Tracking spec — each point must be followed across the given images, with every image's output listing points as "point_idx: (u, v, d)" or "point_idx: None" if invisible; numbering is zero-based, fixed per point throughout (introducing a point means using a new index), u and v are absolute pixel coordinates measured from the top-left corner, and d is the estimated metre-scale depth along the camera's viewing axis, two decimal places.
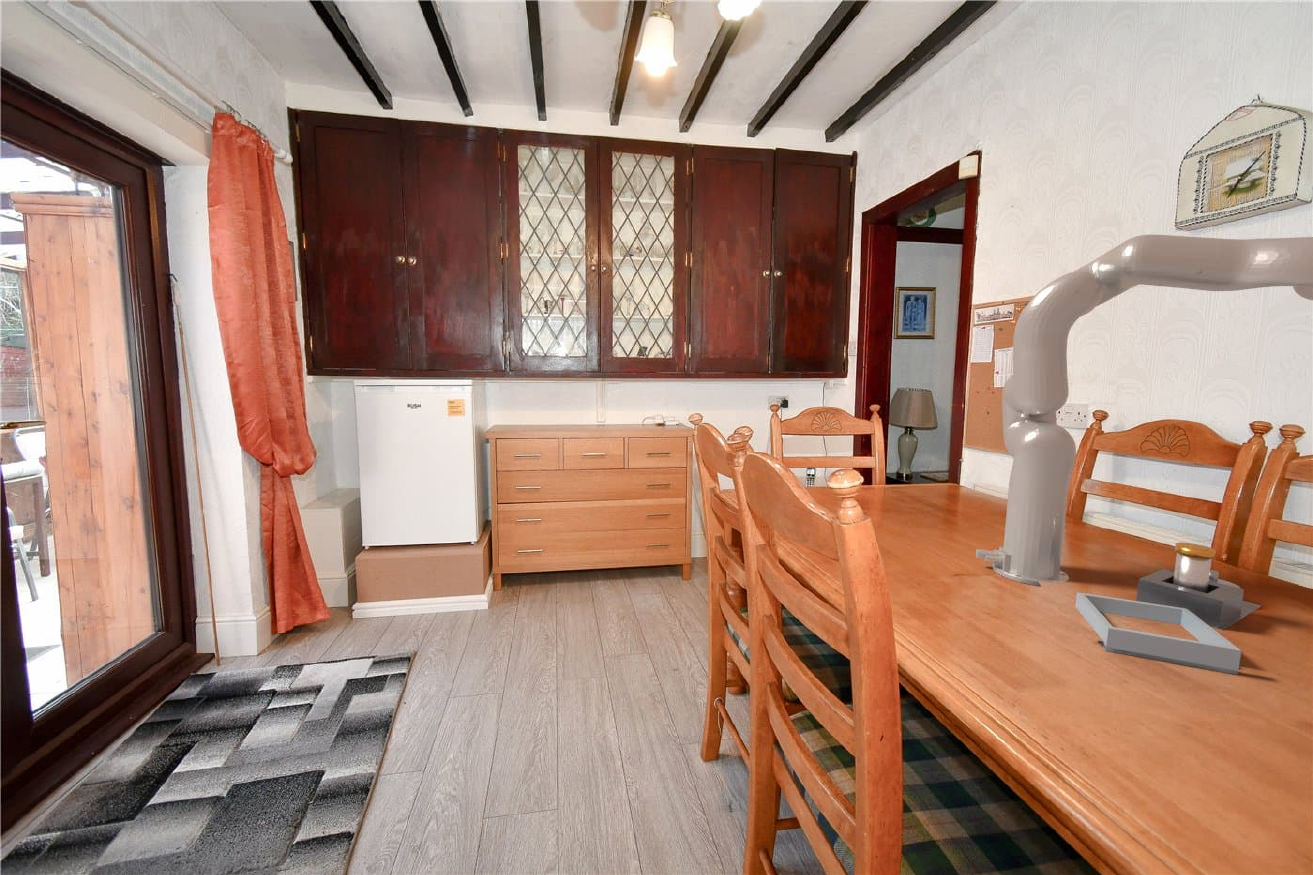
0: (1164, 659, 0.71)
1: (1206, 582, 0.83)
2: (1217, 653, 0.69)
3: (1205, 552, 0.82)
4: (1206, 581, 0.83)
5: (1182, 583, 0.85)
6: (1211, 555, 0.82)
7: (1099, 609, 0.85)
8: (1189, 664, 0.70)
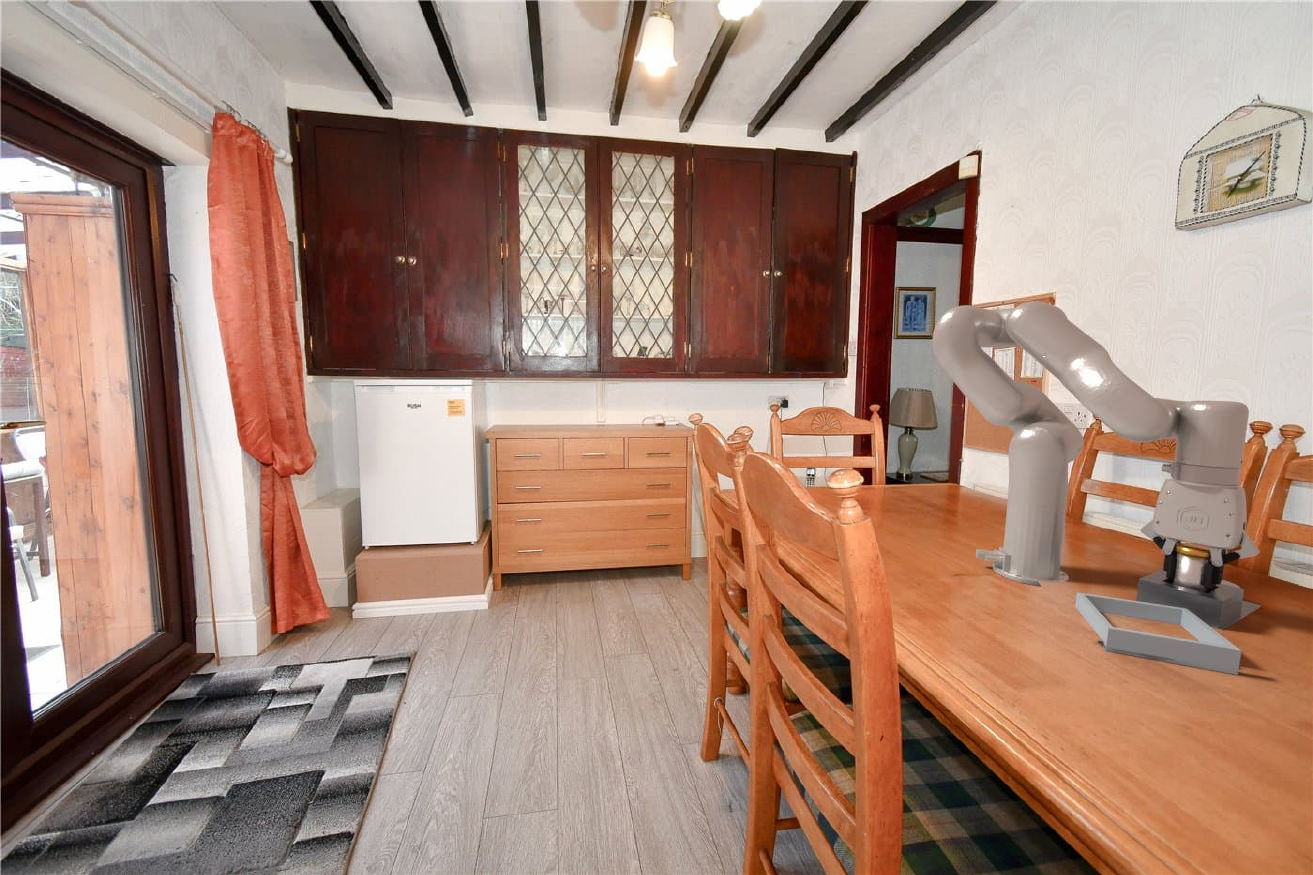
0: (1164, 659, 0.71)
1: None
2: (1217, 653, 0.69)
3: (1205, 552, 0.82)
4: None
5: (1182, 583, 0.85)
6: None
7: (1099, 609, 0.85)
8: (1189, 664, 0.70)
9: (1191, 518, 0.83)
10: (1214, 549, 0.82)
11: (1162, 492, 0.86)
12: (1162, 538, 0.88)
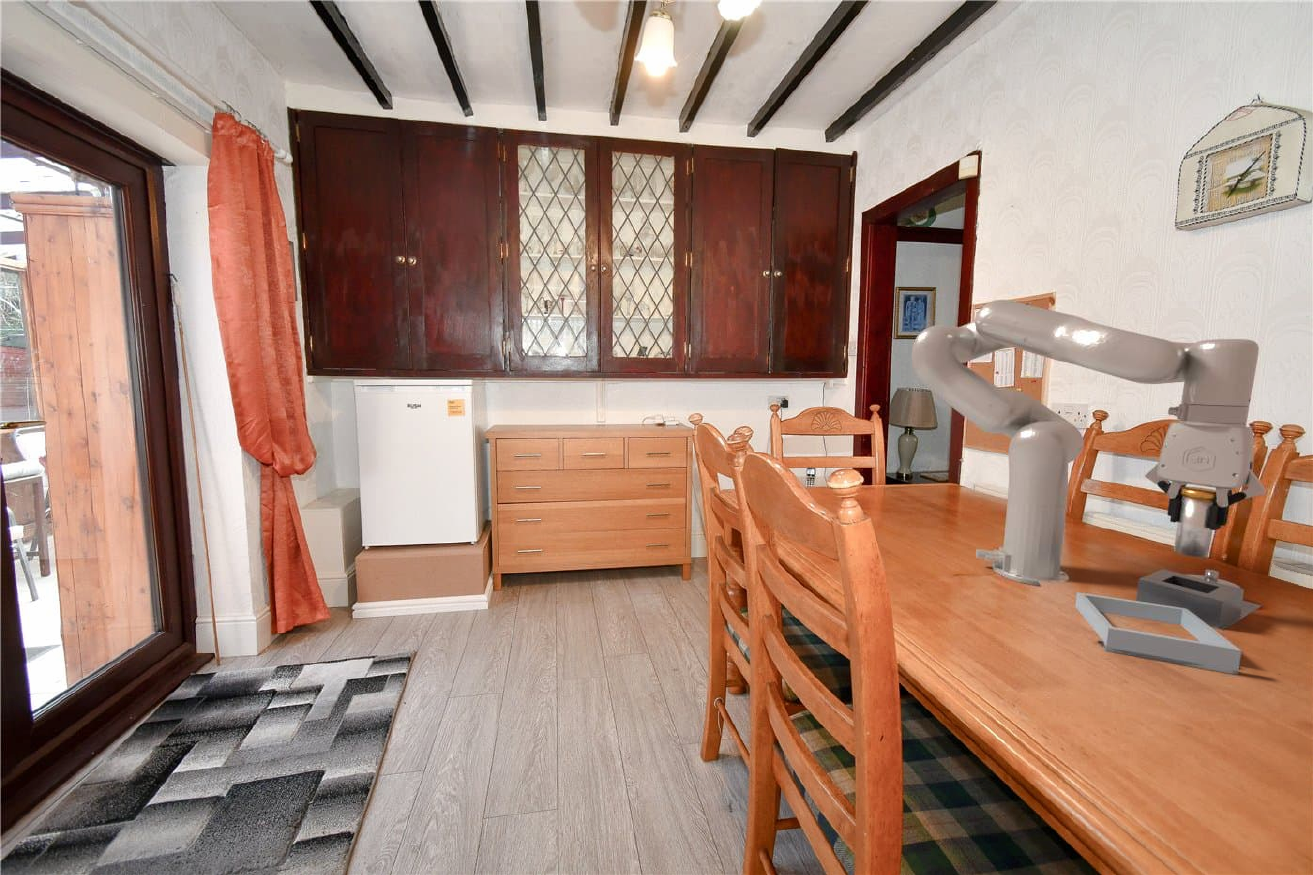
0: (1164, 659, 0.71)
1: None
2: (1217, 653, 0.69)
3: (1211, 493, 0.82)
4: None
5: (1187, 526, 0.84)
6: None
7: (1099, 609, 0.85)
8: (1189, 664, 0.70)
9: (1197, 459, 0.82)
10: (1220, 490, 0.81)
11: (1168, 435, 0.85)
12: (1167, 482, 0.87)
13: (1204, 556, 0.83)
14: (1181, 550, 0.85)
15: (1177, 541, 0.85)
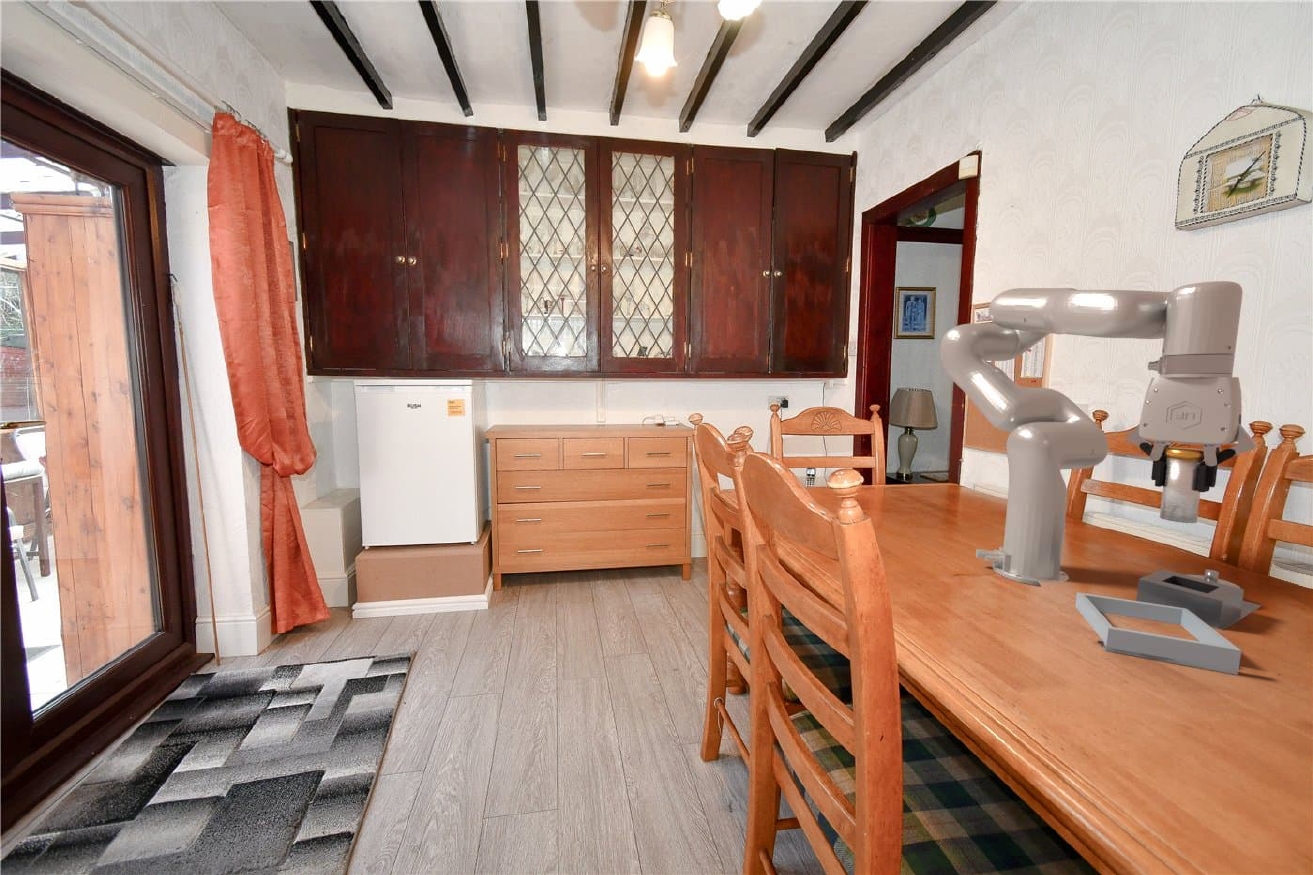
0: (1164, 659, 0.71)
1: None
2: (1217, 653, 0.69)
3: (1198, 451, 0.74)
4: None
5: (1173, 489, 0.77)
6: None
7: (1099, 609, 0.85)
8: (1189, 664, 0.70)
9: (1182, 414, 0.75)
10: (1207, 447, 0.74)
11: (1149, 391, 0.78)
12: (1149, 444, 0.80)
13: (1193, 522, 0.76)
14: (1168, 516, 0.77)
15: (1163, 507, 0.78)
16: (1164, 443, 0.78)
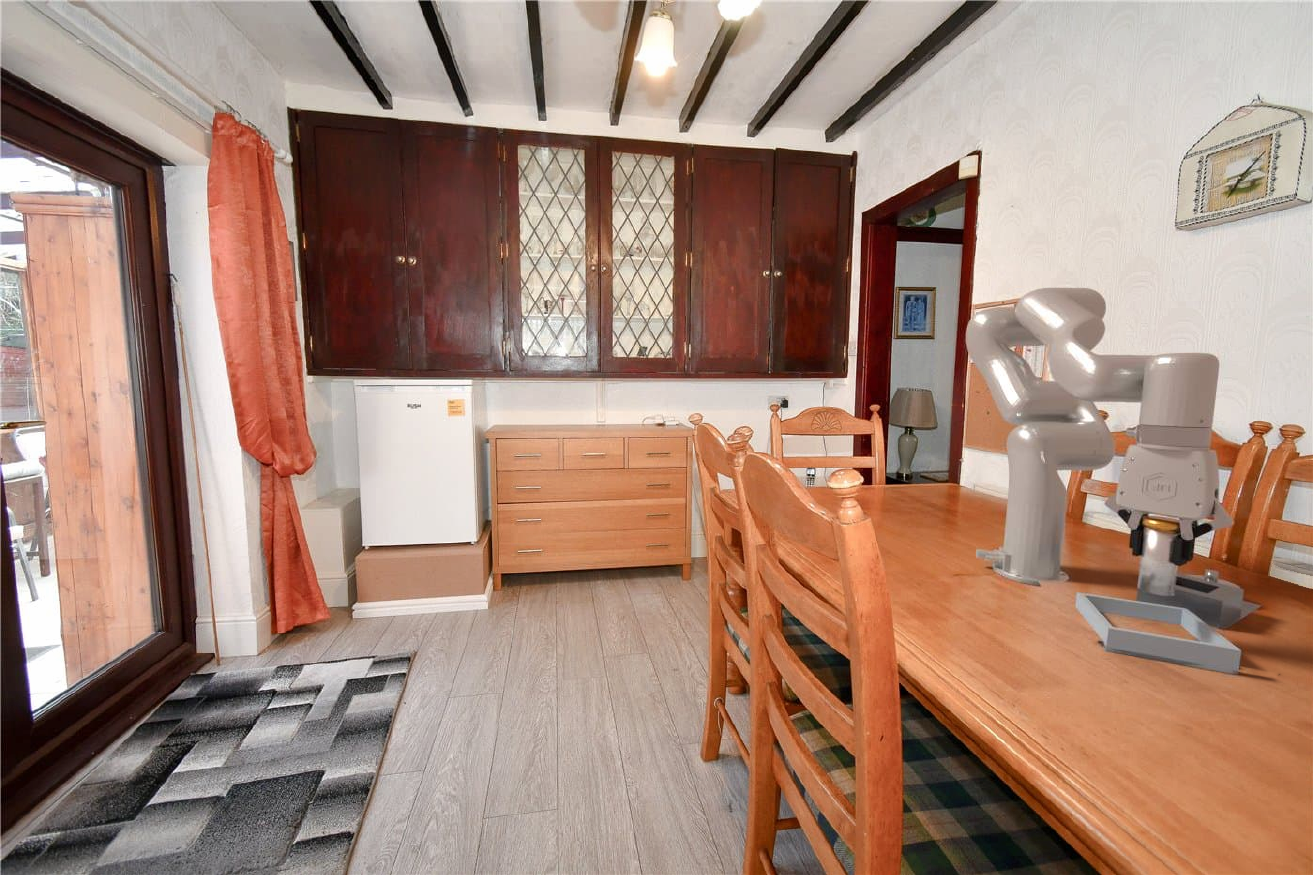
0: (1164, 659, 0.71)
1: None
2: (1217, 653, 0.69)
3: (1174, 524, 0.73)
4: None
5: (1150, 560, 0.75)
6: None
7: (1099, 609, 0.85)
8: (1189, 664, 0.70)
9: (1157, 486, 0.73)
10: (1183, 521, 0.72)
11: (1126, 459, 0.77)
12: (1128, 511, 0.79)
13: (1170, 594, 0.74)
14: (1145, 587, 0.76)
15: (1140, 577, 0.77)
16: (1141, 512, 0.76)
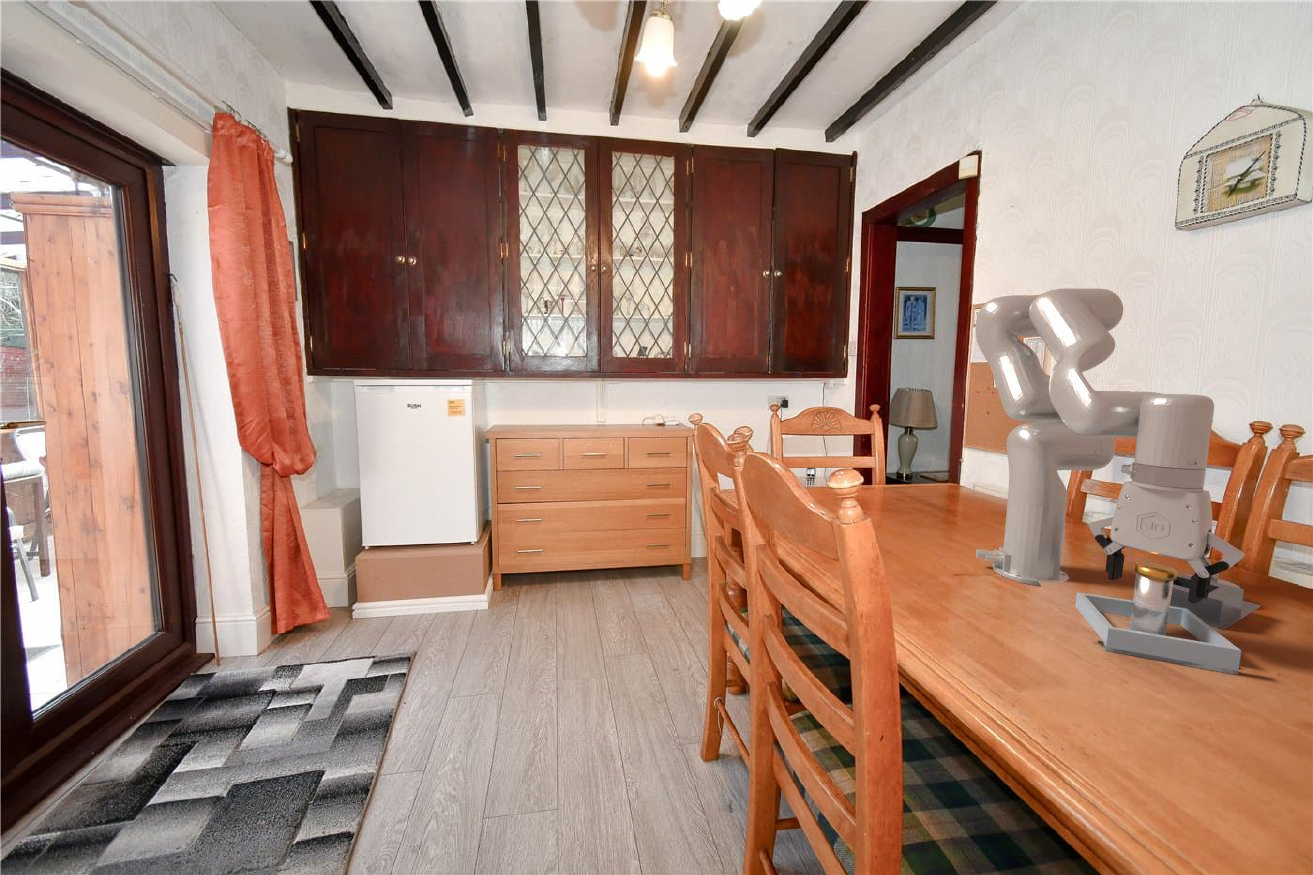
0: (1164, 659, 0.71)
1: (1167, 606, 0.75)
2: (1217, 653, 0.69)
3: (1166, 573, 0.74)
4: (1167, 605, 0.75)
5: (1141, 607, 0.76)
6: (1172, 576, 0.74)
7: (1099, 609, 0.85)
8: (1189, 664, 0.70)
9: (1151, 525, 0.74)
10: None
11: (1121, 496, 0.78)
12: (1104, 536, 0.81)
13: None
14: None
15: (1132, 622, 0.78)
16: None
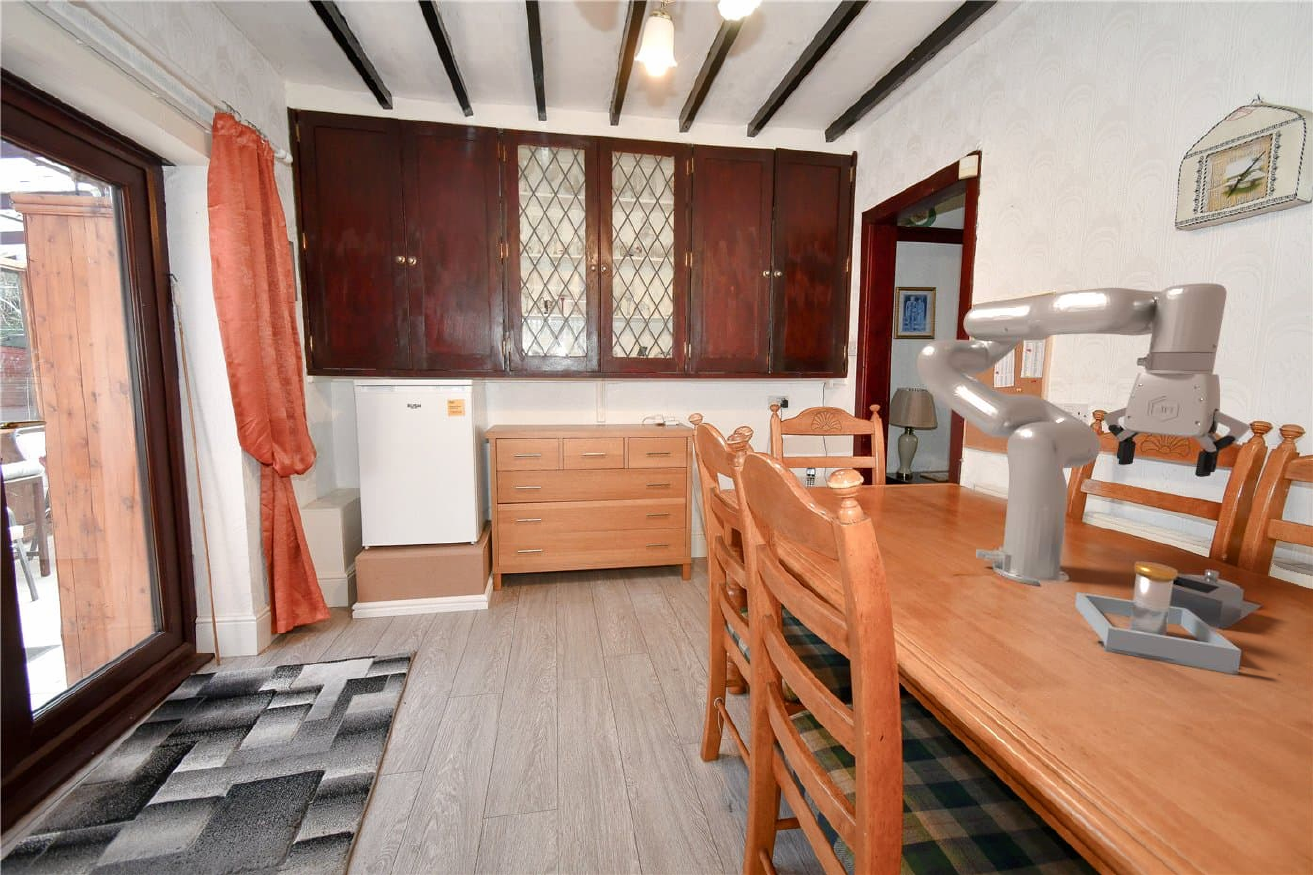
0: (1164, 659, 0.71)
1: (1167, 606, 0.75)
2: (1217, 653, 0.69)
3: (1166, 573, 0.74)
4: (1167, 605, 0.75)
5: (1141, 607, 0.76)
6: (1172, 577, 0.74)
7: (1099, 609, 0.85)
8: (1189, 664, 0.70)
9: (1162, 408, 0.80)
10: (1199, 436, 0.78)
11: (1135, 385, 0.84)
12: (1117, 426, 0.88)
13: None
14: None
15: (1132, 622, 0.78)
16: None
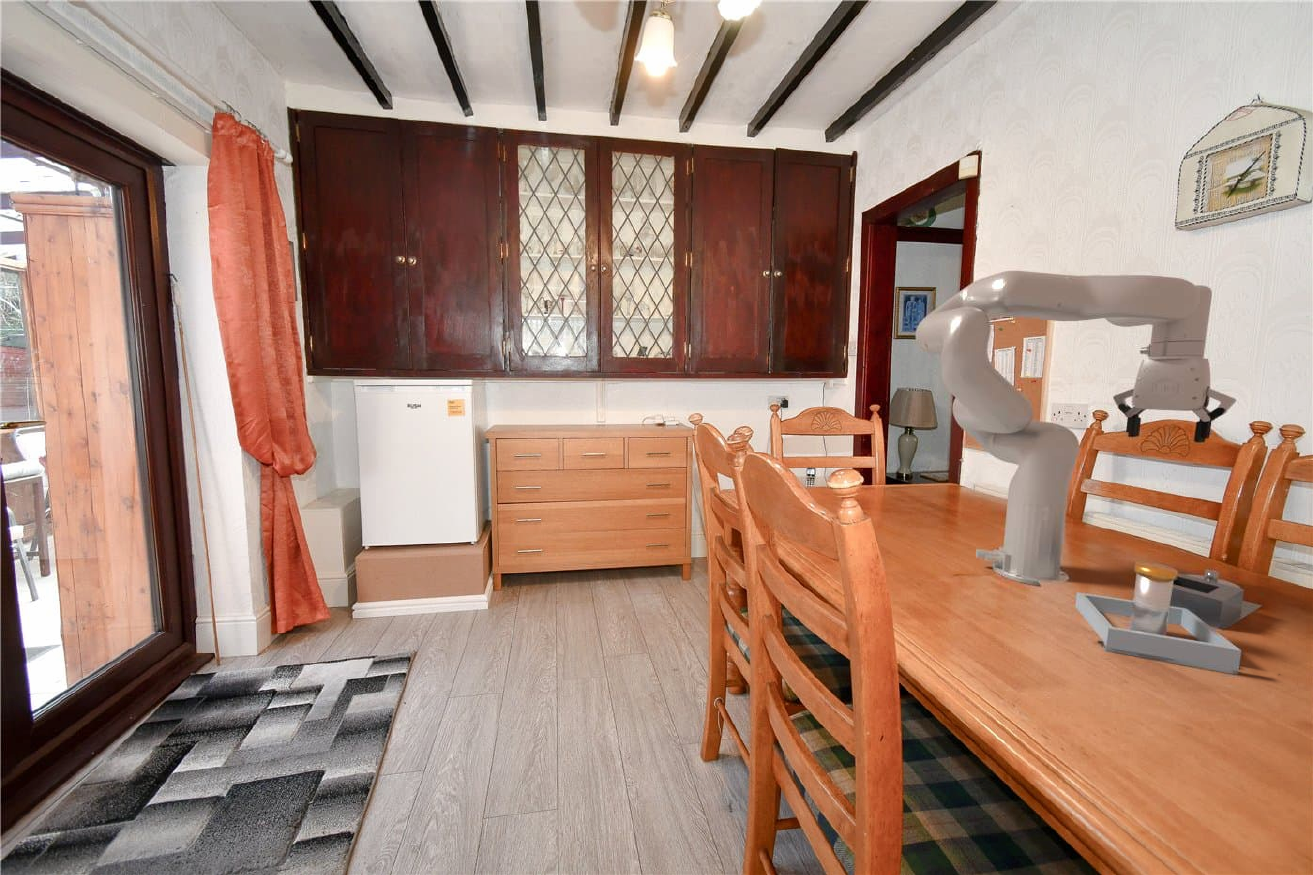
0: (1164, 659, 0.71)
1: (1167, 606, 0.75)
2: (1217, 653, 0.69)
3: (1166, 573, 0.74)
4: (1167, 605, 0.75)
5: (1141, 607, 0.76)
6: (1172, 577, 0.74)
7: (1099, 609, 0.85)
8: (1189, 664, 0.70)
9: (1164, 387, 0.98)
10: (1195, 409, 0.95)
11: (1140, 370, 1.01)
12: (1125, 405, 1.05)
13: None
14: None
15: (1132, 622, 0.78)
16: None
